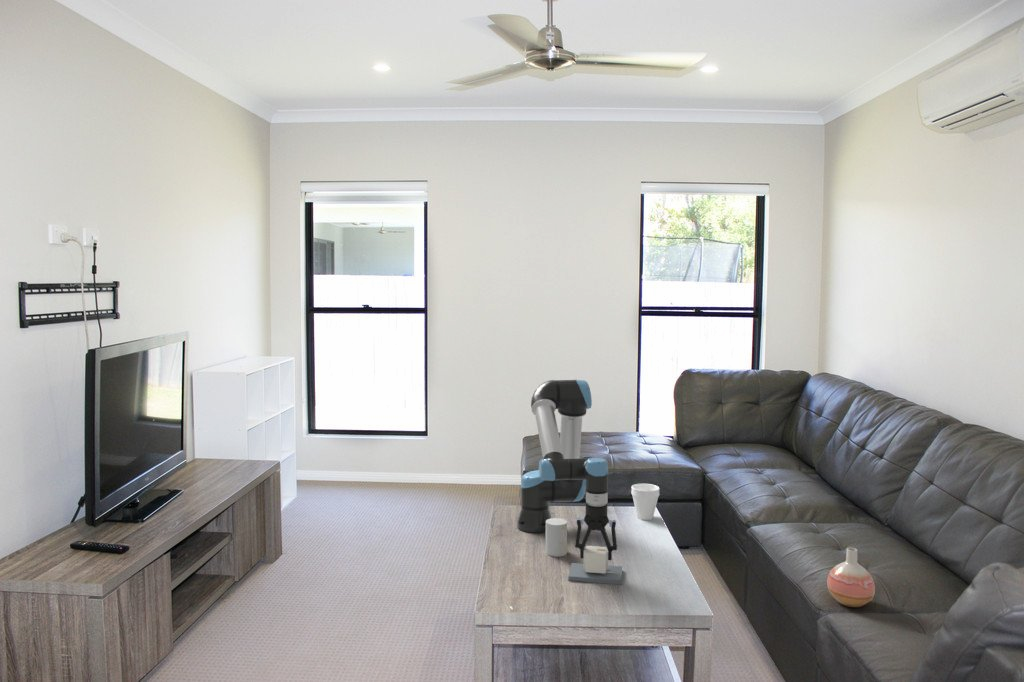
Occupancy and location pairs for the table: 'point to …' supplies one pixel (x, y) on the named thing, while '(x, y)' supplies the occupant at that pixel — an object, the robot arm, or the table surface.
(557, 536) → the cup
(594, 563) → the cream cube
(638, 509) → the cup
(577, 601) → the table surface
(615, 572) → the shaft plate
